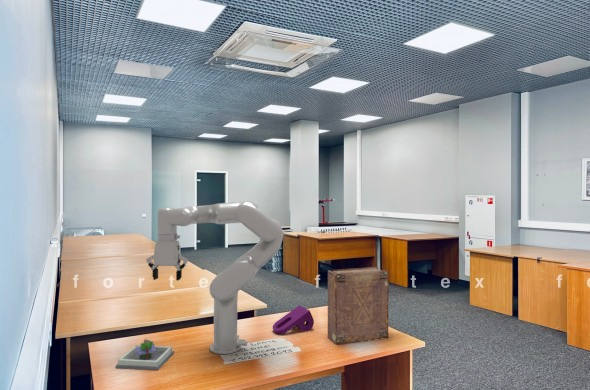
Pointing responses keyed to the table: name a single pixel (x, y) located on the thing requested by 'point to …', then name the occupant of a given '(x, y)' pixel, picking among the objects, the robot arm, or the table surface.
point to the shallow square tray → (145, 359)
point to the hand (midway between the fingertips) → (167, 279)
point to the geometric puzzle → (146, 349)
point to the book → (357, 304)
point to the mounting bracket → (295, 321)
